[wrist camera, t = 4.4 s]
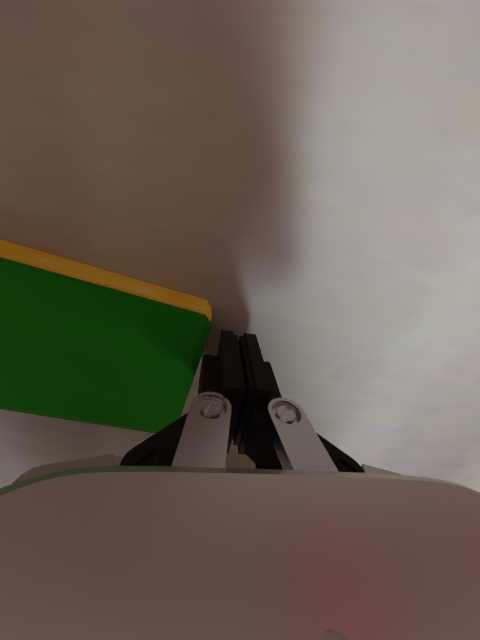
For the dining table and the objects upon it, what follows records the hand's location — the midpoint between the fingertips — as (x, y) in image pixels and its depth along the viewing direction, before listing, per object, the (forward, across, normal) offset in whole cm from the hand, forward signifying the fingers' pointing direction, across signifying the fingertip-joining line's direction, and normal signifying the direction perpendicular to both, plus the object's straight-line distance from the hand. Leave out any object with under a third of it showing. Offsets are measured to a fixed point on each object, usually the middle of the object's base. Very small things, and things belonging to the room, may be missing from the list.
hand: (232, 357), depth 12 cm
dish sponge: (+2, +9, 0) cm, 9 cm away
